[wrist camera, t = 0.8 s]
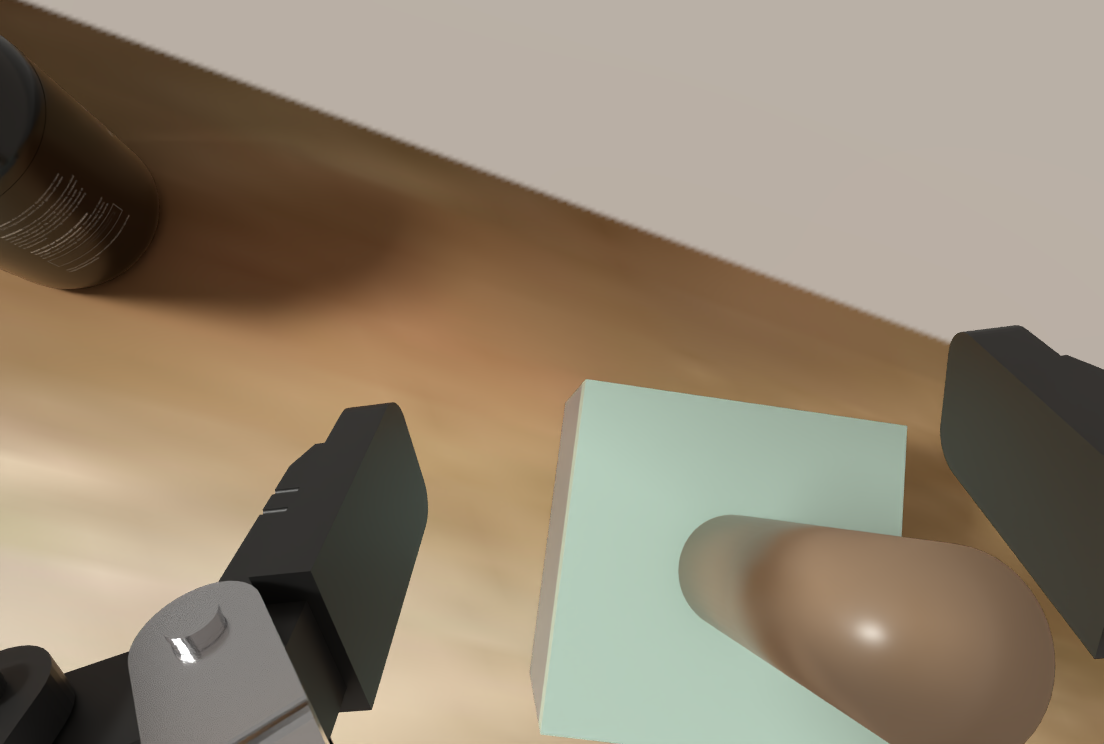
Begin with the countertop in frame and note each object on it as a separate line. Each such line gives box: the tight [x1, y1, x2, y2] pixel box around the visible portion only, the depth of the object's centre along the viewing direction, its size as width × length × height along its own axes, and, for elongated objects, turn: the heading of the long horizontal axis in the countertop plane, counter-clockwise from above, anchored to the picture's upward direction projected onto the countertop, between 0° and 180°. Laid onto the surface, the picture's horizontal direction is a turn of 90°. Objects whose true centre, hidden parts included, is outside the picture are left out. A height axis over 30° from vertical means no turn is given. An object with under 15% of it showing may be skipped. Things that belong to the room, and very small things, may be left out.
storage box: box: [530, 384, 582, 723], centre depth 26 cm, size 11×11×6 cm
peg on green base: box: [539, 379, 1055, 744], centre depth 18 cm, size 11×11×13 cm
